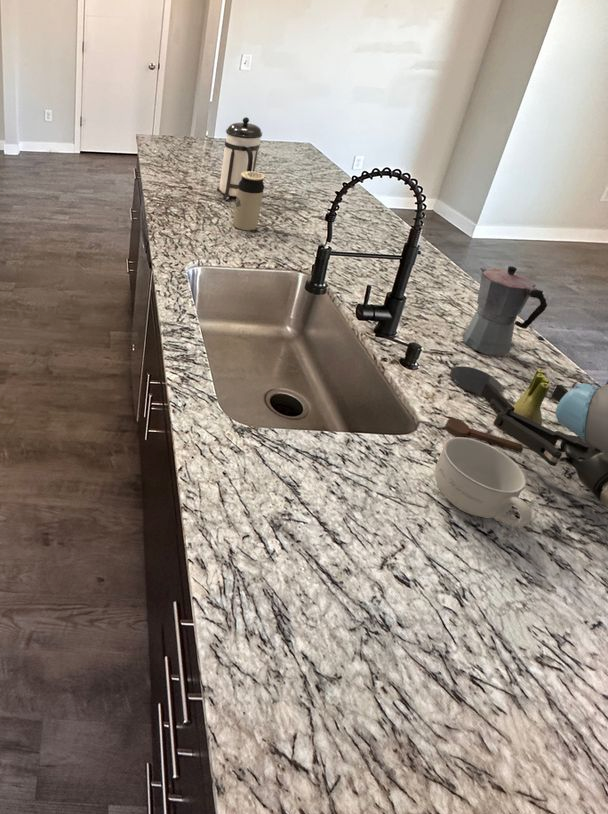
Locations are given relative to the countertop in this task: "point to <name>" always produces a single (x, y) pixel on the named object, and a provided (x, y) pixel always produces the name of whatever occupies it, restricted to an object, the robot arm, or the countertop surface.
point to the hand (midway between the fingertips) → (520, 389)
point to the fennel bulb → (533, 398)
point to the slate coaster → (473, 380)
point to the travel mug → (248, 200)
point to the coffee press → (239, 155)
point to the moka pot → (500, 310)
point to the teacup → (481, 480)
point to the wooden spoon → (479, 435)
